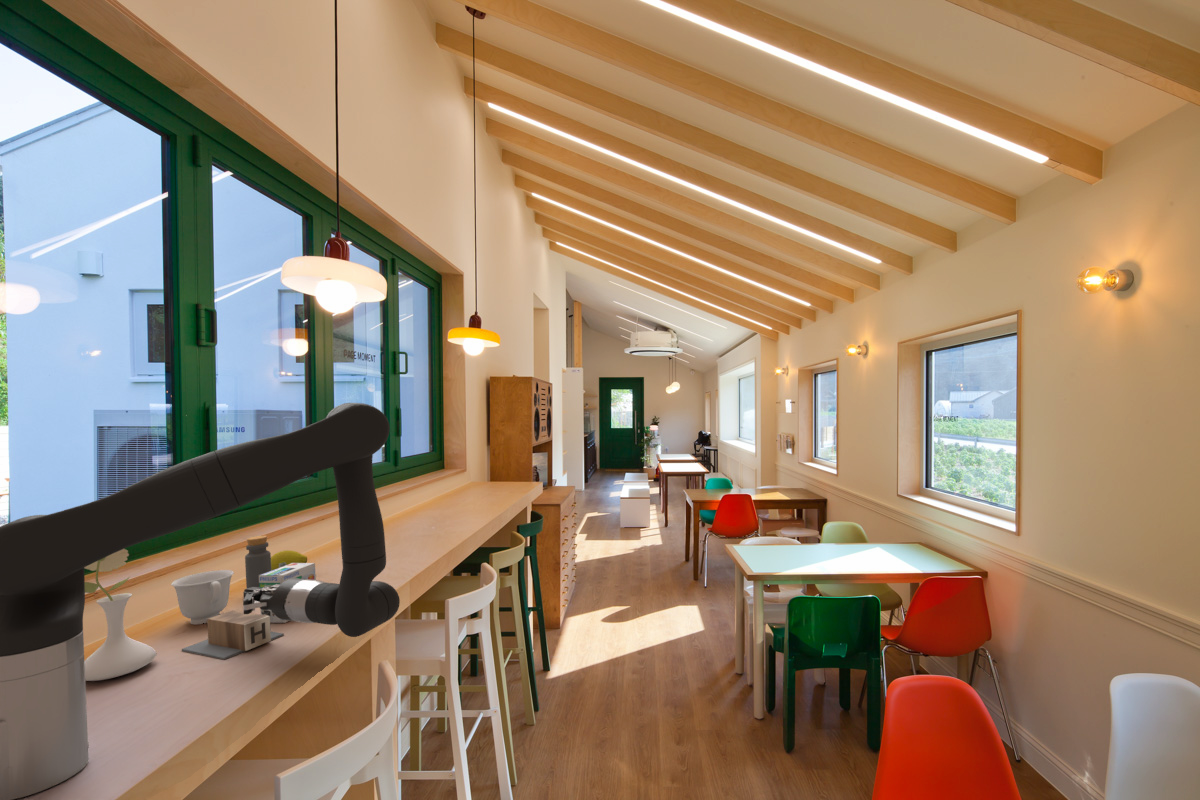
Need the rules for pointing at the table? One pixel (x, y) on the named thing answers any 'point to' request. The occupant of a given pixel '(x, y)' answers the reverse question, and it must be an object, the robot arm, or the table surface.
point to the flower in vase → (114, 630)
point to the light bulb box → (282, 575)
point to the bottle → (256, 560)
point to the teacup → (203, 594)
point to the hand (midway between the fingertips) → (247, 593)
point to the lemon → (286, 559)
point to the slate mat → (219, 648)
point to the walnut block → (239, 630)
